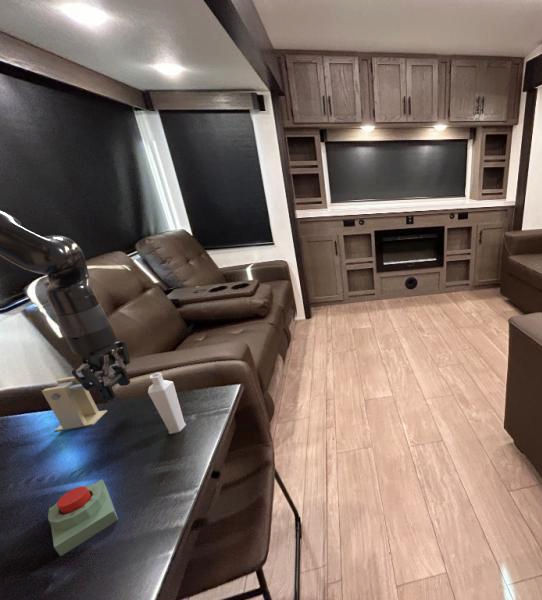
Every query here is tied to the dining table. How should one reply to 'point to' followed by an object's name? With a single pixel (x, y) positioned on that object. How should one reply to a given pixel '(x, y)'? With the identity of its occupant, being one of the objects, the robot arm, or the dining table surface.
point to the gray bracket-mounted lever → (74, 387)
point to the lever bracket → (72, 405)
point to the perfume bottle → (166, 402)
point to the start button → (74, 500)
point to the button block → (82, 519)
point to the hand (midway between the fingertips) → (117, 391)
